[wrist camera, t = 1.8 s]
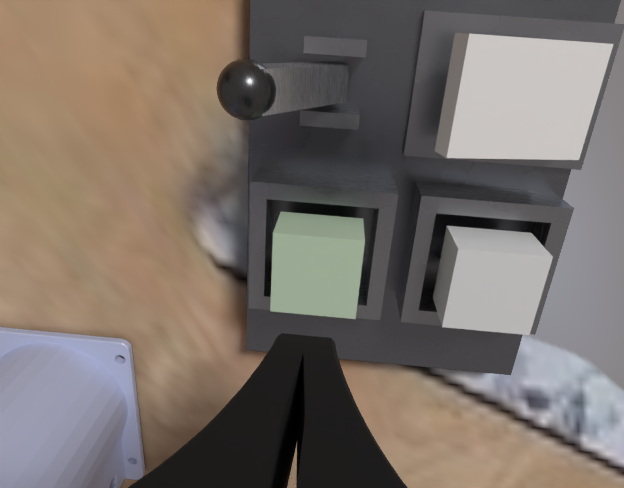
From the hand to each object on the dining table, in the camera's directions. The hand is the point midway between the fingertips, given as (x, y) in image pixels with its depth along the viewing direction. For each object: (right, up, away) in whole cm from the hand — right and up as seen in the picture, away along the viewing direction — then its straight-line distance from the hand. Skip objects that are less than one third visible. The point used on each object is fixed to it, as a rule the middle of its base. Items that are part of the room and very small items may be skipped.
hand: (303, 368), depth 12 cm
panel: (+4, +7, +8) cm, 11 cm away
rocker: (+7, +8, +3) cm, 11 cm away
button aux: (+6, +2, +6) cm, 9 cm away
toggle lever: (+1, +9, +5) cm, 10 cm away
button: (0, +3, +6) cm, 7 cm away
